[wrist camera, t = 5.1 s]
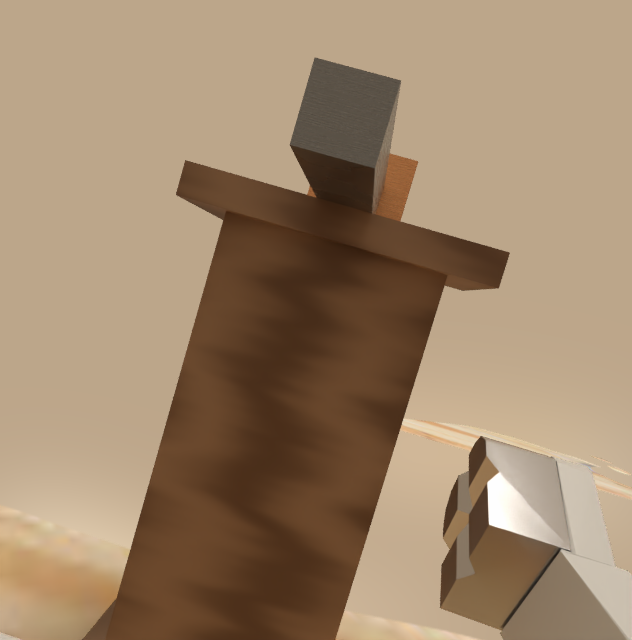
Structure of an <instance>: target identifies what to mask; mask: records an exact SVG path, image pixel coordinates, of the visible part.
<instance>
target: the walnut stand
mask: <svg viewBox="0 0 632 640" xmlns="http://www.w3.org/2000/svg"><path fill="white" fill-rule="evenodd" d="M176 195H177V196H179V197H181V198H183V199H185V200H187V201H188V202H190V203H192V204H194V205H196V206H198V207H200V208H202V209H204V210H205V211H207V212H209V213H211V214H213V215H215V216H217V217H218V218H221V219H222V220H223V224H222V227H221V231H220V234H219V238H218V242H217V245H216V248H215V252H214V256H213V259H212V263H211V266H210V270H209V273H208V277H207V281H206V284H205V288H204V291H203V295H202V298H201V302H200V305H199V309H198V312H197V316H196V319H195V323H194V327H193V330H192V333H191V337H190V341H189V344H188V348H187V351H186V355H185V358H184V362H183V365H182V369H181V373H180V376H179V380H178V383H177V387H176V390H175V394H174V397H173V401H172V404H171V408H170V411H169V415H168V419H167V422H166V426H165V429H164V433H163V436H162V440H161V443H160V447H159V450H158V454H157V457H156V461H155V465H154V468H153V472H152V475H151V479H150V483H149V486H148V489H147V493H146V497H145V500H144V504H143V507H142V511H141V514H140V518H139V521H138V525H137V528H136V532H135V535H134V539H133V543H132V546H131V550H130V553H129V557H128V560H127V564H126V567H125V571H124V574H123V578H122V581H121V585H120V589H119V592H118V596H117V598H116V600H115V601H114V602H113V603H112V605H111V606H110V607H109V608H108V609H107V611H106V612H105V613H104V614H103V615H102V617H101V618H100V619H99V620H98V621H97V623H96V624H95V625H94V626H93V627H92V629H91V630H90V631H89V632H88V633H87V635H86V636H85V637H84V638H83V639H82V640H335V638H336V635H337V632H338V629H339V625H340V622H341V619H342V616H343V613H344V609H345V606H346V603H347V600H348V596H349V593H350V590H351V586H352V583H353V580H354V577H355V574H356V570H357V567H358V564H359V561H360V557H361V554H362V551H363V548H364V544H365V541H366V538H367V535H368V532H369V528H370V525H371V522H372V519H373V515H374V512H375V508H376V505H377V502H378V499H379V496H380V493H381V489H382V486H383V483H384V480H385V476H386V473H387V470H388V467H389V463H390V460H391V457H392V454H393V450H394V447H395V444H396V440H397V437H398V434H399V431H400V428H401V425H402V421H403V418H404V415H405V412H406V408H407V405H408V401H409V398H410V395H411V392H412V389H413V386H414V382H415V379H416V376H417V373H418V370H419V366H420V363H421V359H422V357H423V353H424V350H425V347H426V343H427V340H428V337H429V334H430V331H431V327H432V324H433V321H434V317H435V314H436V311H437V308H438V304H439V301H440V298H441V295H442V292H443V288H444V285H445V286H449V287H452V288H456V289H459V290H462V291H465V290H480V289H495V288H499V286H500V282H501V279H502V276H503V273H504V270H505V267H506V263H507V260H508V257H509V254H510V253H509V252H505V251H502V250H498V249H495V248H492V247H488V246H485V245H481V244H478V243H474V242H470V241H467V240H463V239H460V238H456V237H453V236H449V235H446V234H442V233H439V232H435V231H432V230H428V229H425V228H421V227H418V226H414V225H411V224H407V223H404V222H400V221H397V220H393V219H390V218H386V217H383V216H379V215H376V214H372V213H369V212H365V211H362V210H358V209H355V208H351V207H348V206H344V205H341V204H337V203H334V202H330V201H327V200H323V199H320V198H316V197H313V196H309V195H305V194H302V193H299V192H295V191H291V190H288V189H284V188H281V187H277V186H274V185H270V184H267V183H263V182H260V181H256V180H253V179H249V178H246V177H242V176H239V175H235V174H232V173H228V172H225V171H221V170H217V169H214V168H210V167H207V166H204V165H200V164H196V163H193V162H190V161H186V160H185V163H184V167H183V171H182V174H181V178H180V182H179V185H178V189H177V192H176Z"/></svg>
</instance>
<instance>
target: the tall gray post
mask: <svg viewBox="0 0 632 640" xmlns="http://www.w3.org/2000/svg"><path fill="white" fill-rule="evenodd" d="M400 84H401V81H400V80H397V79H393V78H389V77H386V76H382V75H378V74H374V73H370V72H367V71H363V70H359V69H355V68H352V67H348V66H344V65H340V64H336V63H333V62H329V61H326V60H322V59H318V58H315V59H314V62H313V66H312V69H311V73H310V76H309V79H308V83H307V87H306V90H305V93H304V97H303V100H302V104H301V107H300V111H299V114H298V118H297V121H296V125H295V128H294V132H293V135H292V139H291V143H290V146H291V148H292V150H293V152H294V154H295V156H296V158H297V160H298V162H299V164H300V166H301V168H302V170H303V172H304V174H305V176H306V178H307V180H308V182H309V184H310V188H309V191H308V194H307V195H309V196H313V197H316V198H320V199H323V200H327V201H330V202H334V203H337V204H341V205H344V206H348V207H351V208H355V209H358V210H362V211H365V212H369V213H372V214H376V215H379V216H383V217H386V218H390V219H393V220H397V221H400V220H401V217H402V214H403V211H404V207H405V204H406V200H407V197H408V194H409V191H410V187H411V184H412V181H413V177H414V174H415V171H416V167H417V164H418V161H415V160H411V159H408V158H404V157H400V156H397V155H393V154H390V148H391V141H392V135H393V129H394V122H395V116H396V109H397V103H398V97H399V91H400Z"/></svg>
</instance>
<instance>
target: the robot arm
mask: <svg viewBox="0 0 632 640" xmlns="http://www.w3.org/2000/svg"><path fill="white" fill-rule="evenodd" d="M443 539H444V541H445V542H446V544H447V546H448V547H449V549H450V550H449V552H448V554H447V556H446V558H445V560H444V562H443V563H442V569H441V597H440V608H441V609H444V610H447V611H449V612H452V613H455V614H458V615H460V616H463V617H466V618H469V619H472V620H474V621H477V622H480V623H482V624H485V625H488V626H491V627H493V628H496V629H499V630H502V631H501V633H500V634H501V636H502V638H503V640H632V575H631V574H630V573H629V572H628V571H627V570H623V569H621V568H618V567H616V564H615V560H614V556H613V552H612V548H611V545H610V540H609V537H608V533H607V529H606V525H605V521H604V517H603V513H602V509H601V505H600V501H599V497H598V493H597V489H596V485H595V481H594V477H593V473H592V472H591V470H590V469H589V468H588V467H587V466H584V465H580V464H577V463H573V462H570V461H566V460H562V459H559V458H555V457H548V456H546V455H542V454H539V453H536V452H532V451H529V450H526V449H522V448H519V447H516V446H512V445H509V444H506V443H503V442H499V441H496V440H493V439H489V438H486V437H483V436H481V437H480V438H479V439H478V440H477V441H476V443H475V444H474V446H473V448H472V450H471V452H470V454H469V471H468V472H466V473H464V474H461V475H459V476H458V478H457V480H456V482H455V484H454V487H453V489H452V491H451V494H450V497H449V501H448V504H447V507H446V512H445V519H444V528H443ZM0 640H21V639H19V638H16V637H13V636H10V635H7V634H4V633H2V632H0Z"/></svg>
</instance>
